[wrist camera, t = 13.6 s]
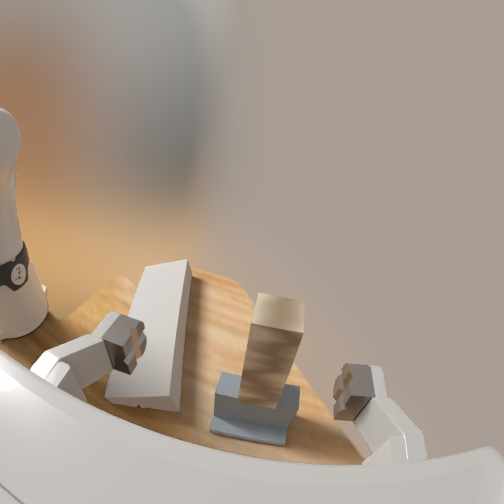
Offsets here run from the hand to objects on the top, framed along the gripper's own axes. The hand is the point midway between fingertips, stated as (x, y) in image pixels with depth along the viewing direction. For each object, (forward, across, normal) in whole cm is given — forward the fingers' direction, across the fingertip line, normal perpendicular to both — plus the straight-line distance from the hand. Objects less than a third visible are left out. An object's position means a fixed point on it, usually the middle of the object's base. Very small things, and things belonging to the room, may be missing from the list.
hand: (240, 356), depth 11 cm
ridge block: (+13, +2, -28) cm, 31 cm away
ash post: (+13, +2, -21) cm, 25 cm away
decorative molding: (+26, -17, -29) cm, 42 cm away
